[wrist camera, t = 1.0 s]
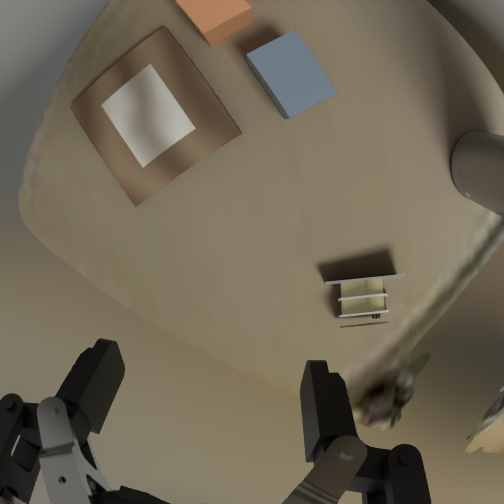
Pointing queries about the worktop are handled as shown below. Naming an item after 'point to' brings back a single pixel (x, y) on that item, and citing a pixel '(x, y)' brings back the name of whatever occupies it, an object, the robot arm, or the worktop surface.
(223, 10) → the terracotta brick
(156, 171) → the plate
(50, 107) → the worktop surface
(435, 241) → the worktop surface
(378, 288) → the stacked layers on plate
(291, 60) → the slate brick
